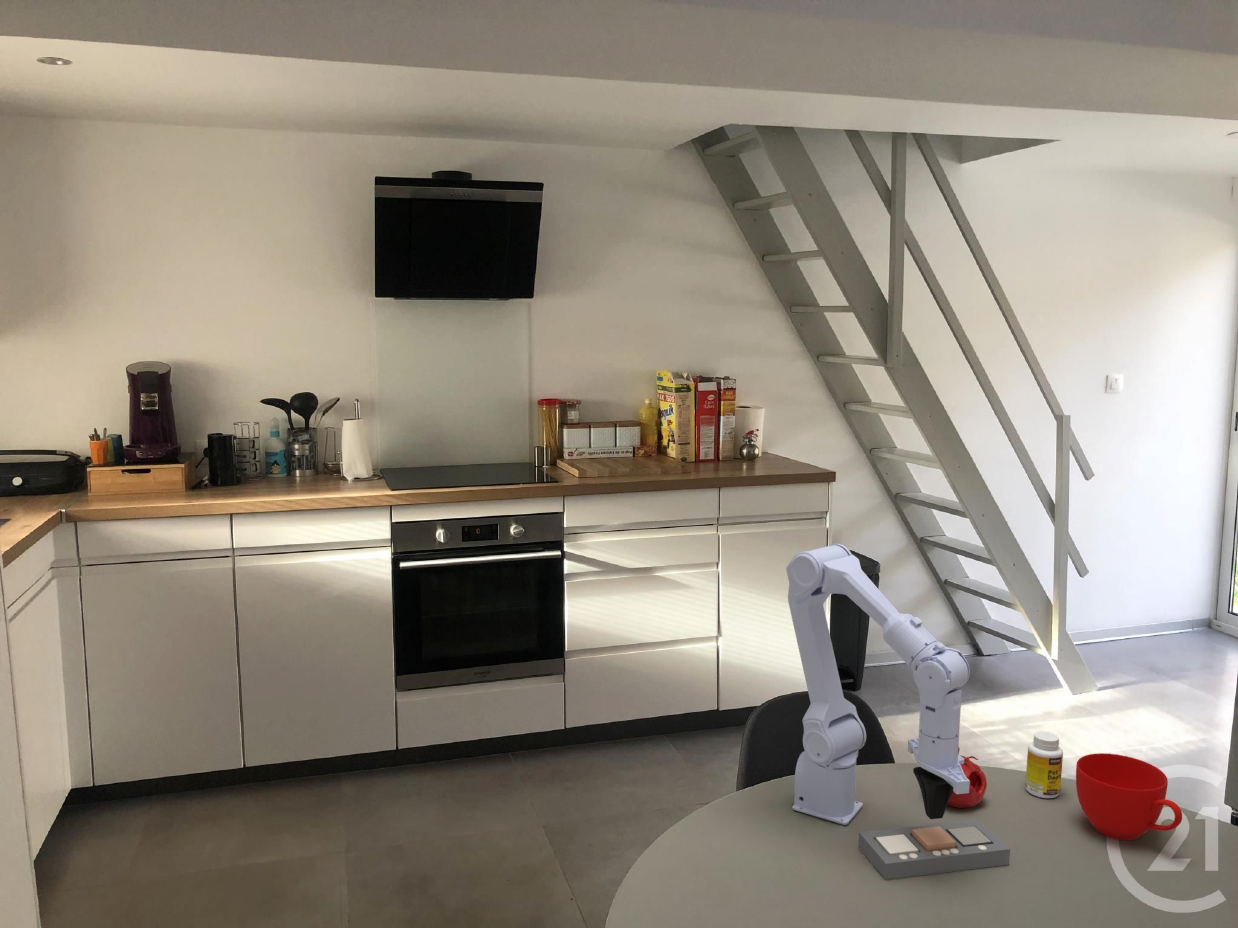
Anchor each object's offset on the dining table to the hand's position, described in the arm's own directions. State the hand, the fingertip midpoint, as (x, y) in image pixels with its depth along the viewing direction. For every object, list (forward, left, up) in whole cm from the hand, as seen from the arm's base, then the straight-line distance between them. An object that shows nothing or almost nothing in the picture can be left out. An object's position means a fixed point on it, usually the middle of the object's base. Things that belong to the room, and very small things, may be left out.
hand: (934, 816), depth 149 cm
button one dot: (+4, +4, -5) cm, 8 cm away
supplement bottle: (+10, +31, -7) cm, 33 cm away
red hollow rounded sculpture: (-2, +20, -7) cm, 21 cm away
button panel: (0, 0, -6) cm, 6 cm away
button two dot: (-4, -4, -5) cm, 8 cm away
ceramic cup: (+24, +23, -7) cm, 34 cm away
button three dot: (0, 0, -5) cm, 5 cm away
